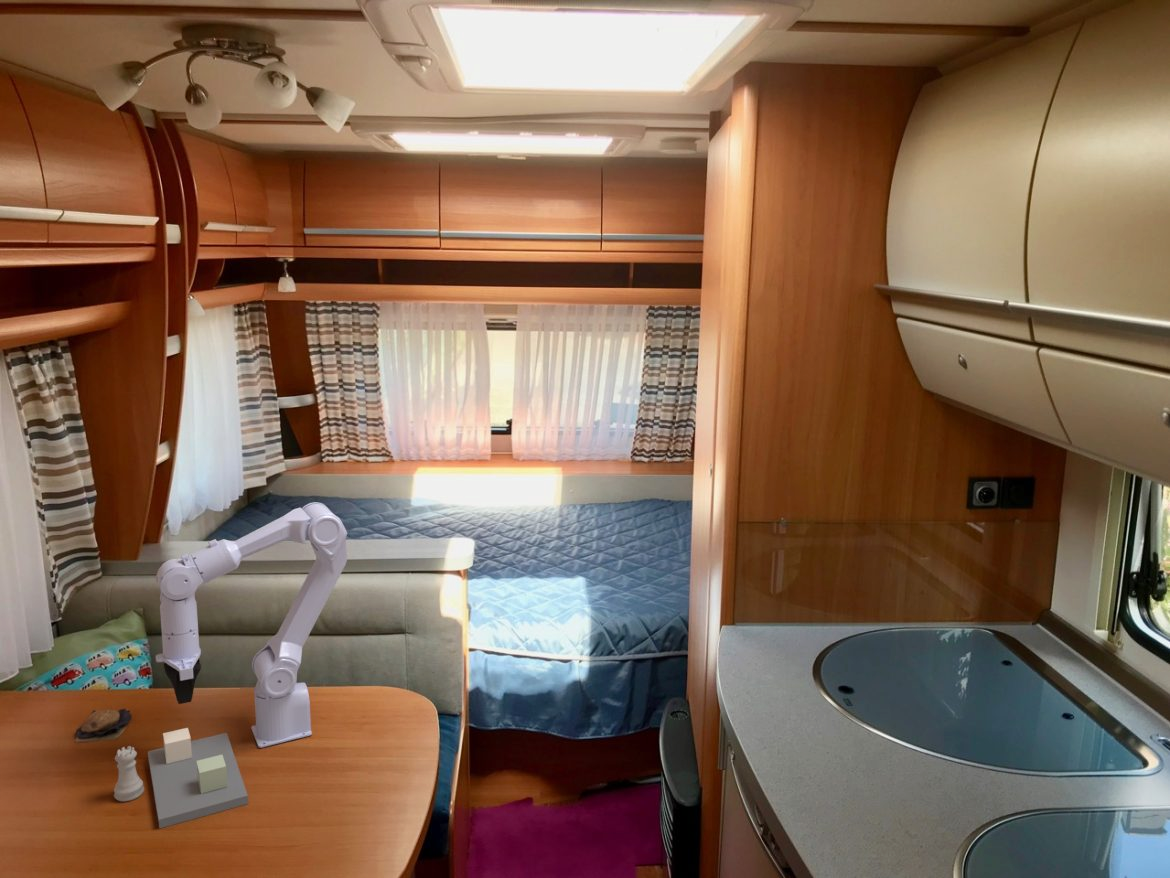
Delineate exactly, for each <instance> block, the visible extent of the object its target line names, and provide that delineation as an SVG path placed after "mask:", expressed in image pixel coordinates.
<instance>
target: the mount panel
mask: <svg viewBox="0 0 1170 878" xmlns="http://www.w3.org/2000/svg"><path fill="white" fill-rule="evenodd" d="M191 750H192V758H189V759H185V760H180V761H176V762H172V763H168V764H167V763H166V758H165V753H164V747H161V748H157V749H151V750H148V751H147V758H148V759H147V760H148V765H149V771H150V772H149V773H150V777H151V779H150V780H151V784H152V789H153V790H152V791H153V797H154V803H155V809H156V816H157V822H158V828H159V829H164V828H166V827H170V826H174V825H177V824H181V823H185V822H188V821H191V820H192V821H193V820H195V819H198V818H202V817H206V816H210V815H214V814H216V813H219V812H220V813H221V812H224V811H228V810H232V809H234V808H239V807H241V806H245V805H249V795H248V793H247V789H246V786H245V783H244V780H243V776H242V774H241V772H240V771H241V770H240V768H239V765H238V762H237V760H236V757H235V753H234V750H233V747H232V744H231V741H230V739H229V735H228V733H227V732H224V733H223V732H222V733H220V734H216V735H211V736H207V737H203V738H200V739H199V738H198V739H194V740H191ZM218 755H223V758H224V761H225V764H226V773H227V787H224V788H221V789H217V790H213V791H209V792H206V793H202V794H201V792H200V788H199V784H198V776H197V762H196V761H198V760H202V759H206V758H210V757H214V756H218Z"/></svg>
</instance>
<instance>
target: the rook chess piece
mask: <svg viewBox="0 0 1170 878" xmlns="http://www.w3.org/2000/svg"><path fill="white" fill-rule="evenodd" d="M137 755H138V752H137V751H136V750H135V747H134V746H131V745H129V746H127V748H125V746H123V747H121V749H120V748H119V749H117V751H116V755H115V756H114V760H115V761H116V762H117V764H116V768H117V769H118V776H117V777H118V780H117V781H116V784H115V786H114V787H113V788H114V789H113V792H114V793H113V797H114V799H116V800H117V801H119V802H122V803H123V802H126V803H127V802H131V801H133V800H136V799H137V798H139V797H140V796H141V795H142V794H143V793H144V791H145V787H144V782H143V780H142V779H141V777H140V775H138V771H137V769H136V764H137V760H135V758H136V756H137Z"/></svg>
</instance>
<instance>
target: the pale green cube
mask: <svg viewBox="0 0 1170 878" xmlns="http://www.w3.org/2000/svg"><path fill="white" fill-rule="evenodd" d="M196 762H197V776H198V784H199V788H200V792H201V794H202V793H206V792H209V791H213V790H217V789H221V788H224V787H227V773H226V764H225V761H224V758H223V755H218V756H214V757H210V758H206V759H202V760H198V761H196Z"/></svg>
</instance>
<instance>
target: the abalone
mask: <svg viewBox="0 0 1170 878" xmlns="http://www.w3.org/2000/svg"><path fill="white" fill-rule="evenodd" d="M130 712H131V710H127V709H126V708H121V709H119V710H114V709H109V708H108V709H99V710H95V709H94V710H93V711H92V712H91V713H90V714H89V715H88V716H87V717H86V719H84V722H83V724H82V725H81V726H79V728H76V730H75V734H76V737H75V739H74V743H75V744H81V743H90V742H92V743H93V742H102V741H114V740H118V739H119V738H120V736H121V735H122V734H123V733H124V731H125V730H126V728H127V727H128V725H129V723H130V721H131V719H132V716H133V715H132V713H130Z"/></svg>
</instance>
